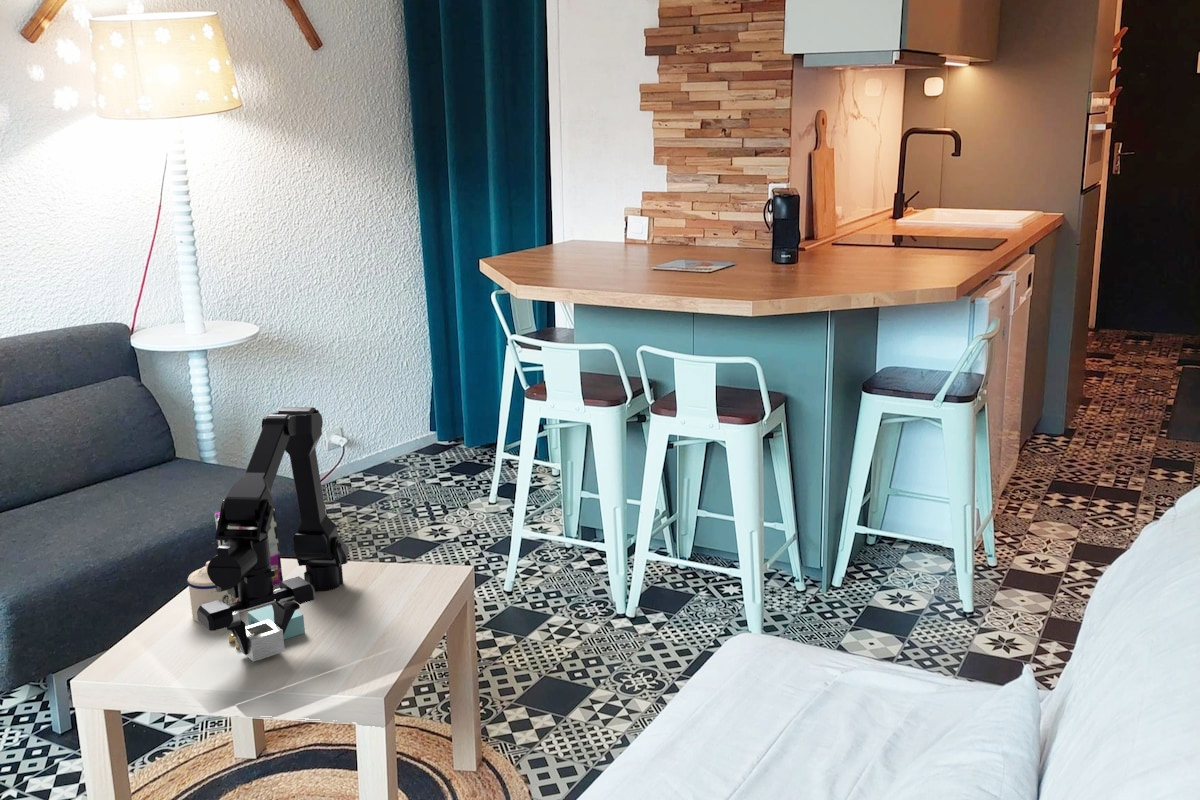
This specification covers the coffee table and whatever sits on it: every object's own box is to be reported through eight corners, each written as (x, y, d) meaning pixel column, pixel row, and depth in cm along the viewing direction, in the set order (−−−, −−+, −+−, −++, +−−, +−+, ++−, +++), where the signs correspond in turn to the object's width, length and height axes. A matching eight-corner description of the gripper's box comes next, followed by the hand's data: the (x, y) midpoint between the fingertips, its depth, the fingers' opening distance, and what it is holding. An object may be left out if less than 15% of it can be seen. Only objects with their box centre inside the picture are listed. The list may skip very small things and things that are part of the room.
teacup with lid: (226, 632, 201) (220, 573, 198) (182, 628, 203) (175, 569, 200) (259, 604, 212) (253, 548, 210) (217, 601, 214) (211, 545, 212)
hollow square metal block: (271, 640, 192) (268, 619, 191) (284, 651, 188) (282, 629, 187) (240, 650, 189) (237, 629, 188) (253, 661, 185) (251, 640, 184)
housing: (285, 618, 203) (284, 600, 202) (304, 632, 197) (303, 614, 196) (249, 629, 199) (247, 612, 198) (267, 644, 193) (266, 626, 192)
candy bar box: (278, 577, 225) (271, 501, 221) (283, 586, 221) (276, 509, 217) (222, 588, 220) (213, 511, 216) (226, 597, 216) (217, 519, 212)
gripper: (284, 537, 196) (292, 617, 200) (180, 564, 185) (190, 649, 189) (312, 554, 188) (320, 637, 192) (205, 584, 176) (215, 672, 180)
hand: (262, 648), depth 188 cm, fingers closed on hollow square metal block, 6 cm apart
